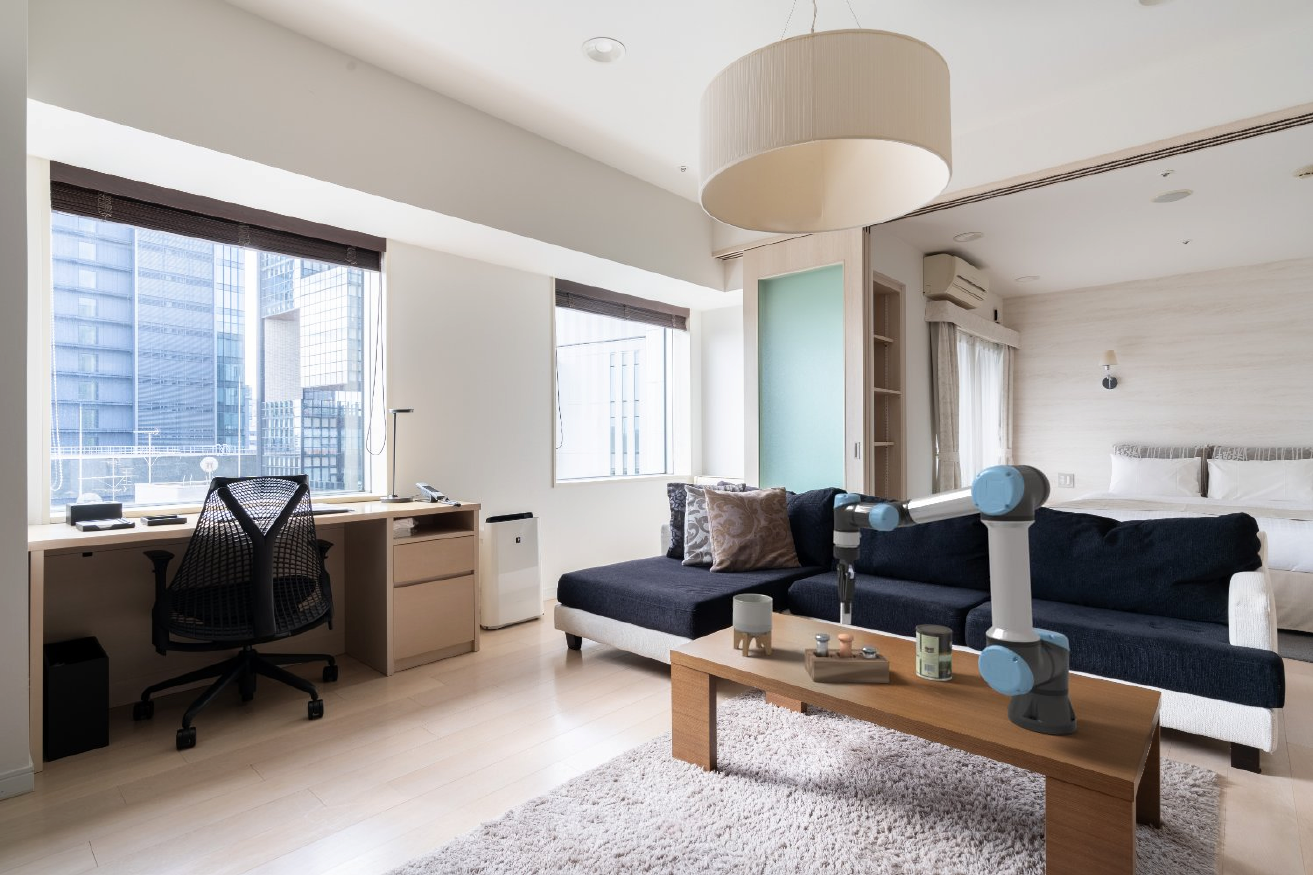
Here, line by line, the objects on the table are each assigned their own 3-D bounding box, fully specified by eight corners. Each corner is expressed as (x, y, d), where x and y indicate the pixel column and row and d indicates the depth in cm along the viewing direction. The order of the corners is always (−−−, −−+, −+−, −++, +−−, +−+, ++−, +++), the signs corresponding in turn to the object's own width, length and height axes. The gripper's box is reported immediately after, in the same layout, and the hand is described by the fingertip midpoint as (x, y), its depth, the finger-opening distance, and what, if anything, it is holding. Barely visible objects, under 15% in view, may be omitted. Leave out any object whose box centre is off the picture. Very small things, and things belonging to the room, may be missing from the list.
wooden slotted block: (889, 682, 196) (889, 661, 196) (813, 681, 196) (813, 661, 196) (875, 668, 208) (875, 649, 208) (804, 667, 208) (804, 648, 208)
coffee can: (948, 671, 206) (948, 625, 207) (955, 682, 196) (956, 634, 196) (912, 668, 208) (913, 622, 209) (918, 679, 198) (919, 632, 198)
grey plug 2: (878, 674, 199) (878, 650, 200) (863, 674, 199) (864, 649, 200) (873, 669, 204) (874, 645, 204) (859, 669, 204) (859, 645, 204)
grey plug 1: (831, 662, 200) (831, 637, 200) (816, 662, 200) (817, 637, 200) (827, 657, 204) (828, 633, 204) (813, 657, 204) (813, 633, 204)
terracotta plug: (855, 662, 199) (855, 638, 200) (840, 662, 200) (840, 637, 200) (850, 657, 204) (851, 633, 204) (836, 657, 204) (836, 633, 204)
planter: (742, 643, 233) (742, 592, 233) (777, 649, 226) (778, 596, 226) (726, 653, 221) (726, 599, 222) (763, 660, 215) (763, 604, 215)
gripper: (865, 548, 195) (864, 629, 195) (852, 542, 209) (851, 618, 208) (840, 548, 196) (839, 629, 195) (828, 541, 209) (827, 617, 208)
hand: (845, 623), depth 202 cm, fingers closed
